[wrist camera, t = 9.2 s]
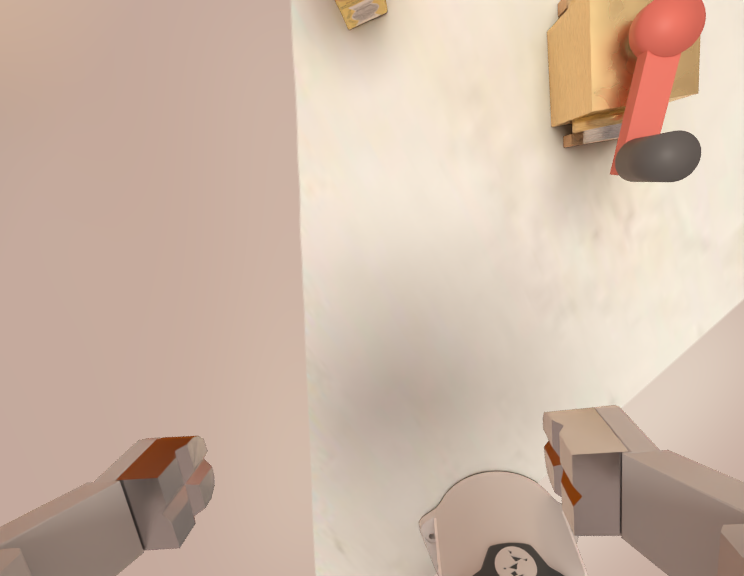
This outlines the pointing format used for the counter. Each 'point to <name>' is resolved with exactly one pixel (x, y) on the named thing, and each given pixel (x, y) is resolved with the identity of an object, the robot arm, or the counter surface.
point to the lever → (657, 94)
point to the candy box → (360, 10)
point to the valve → (600, 68)
